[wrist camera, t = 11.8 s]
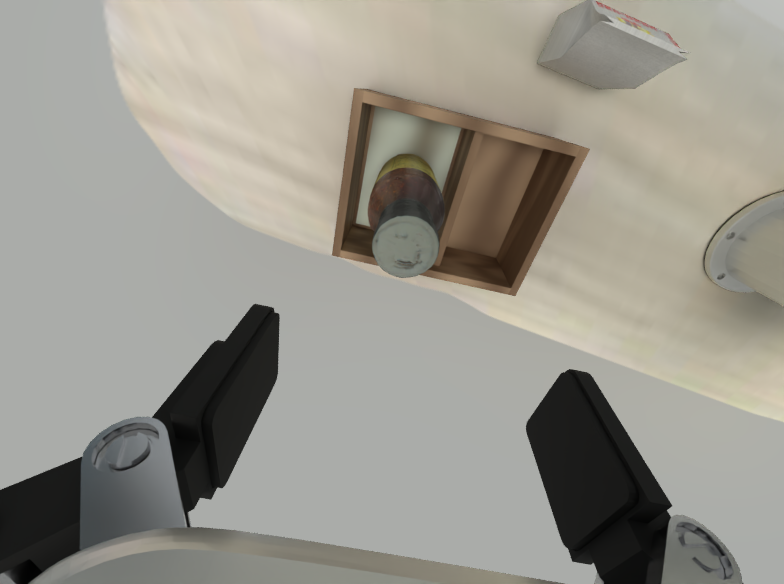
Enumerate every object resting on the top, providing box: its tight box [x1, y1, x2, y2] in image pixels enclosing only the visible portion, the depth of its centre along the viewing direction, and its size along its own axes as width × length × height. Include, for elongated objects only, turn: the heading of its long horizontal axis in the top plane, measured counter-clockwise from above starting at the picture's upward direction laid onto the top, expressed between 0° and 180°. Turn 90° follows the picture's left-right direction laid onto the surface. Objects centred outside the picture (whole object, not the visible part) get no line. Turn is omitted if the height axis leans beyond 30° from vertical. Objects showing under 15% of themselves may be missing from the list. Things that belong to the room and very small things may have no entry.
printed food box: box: [537, 0, 690, 89], centre depth 26 cm, size 4×7×10 cm, turn 72°
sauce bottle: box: [368, 154, 445, 278], centre depth 27 cm, size 7×6×20 cm
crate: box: [332, 88, 590, 296], centre depth 34 cm, size 20×15×8 cm
